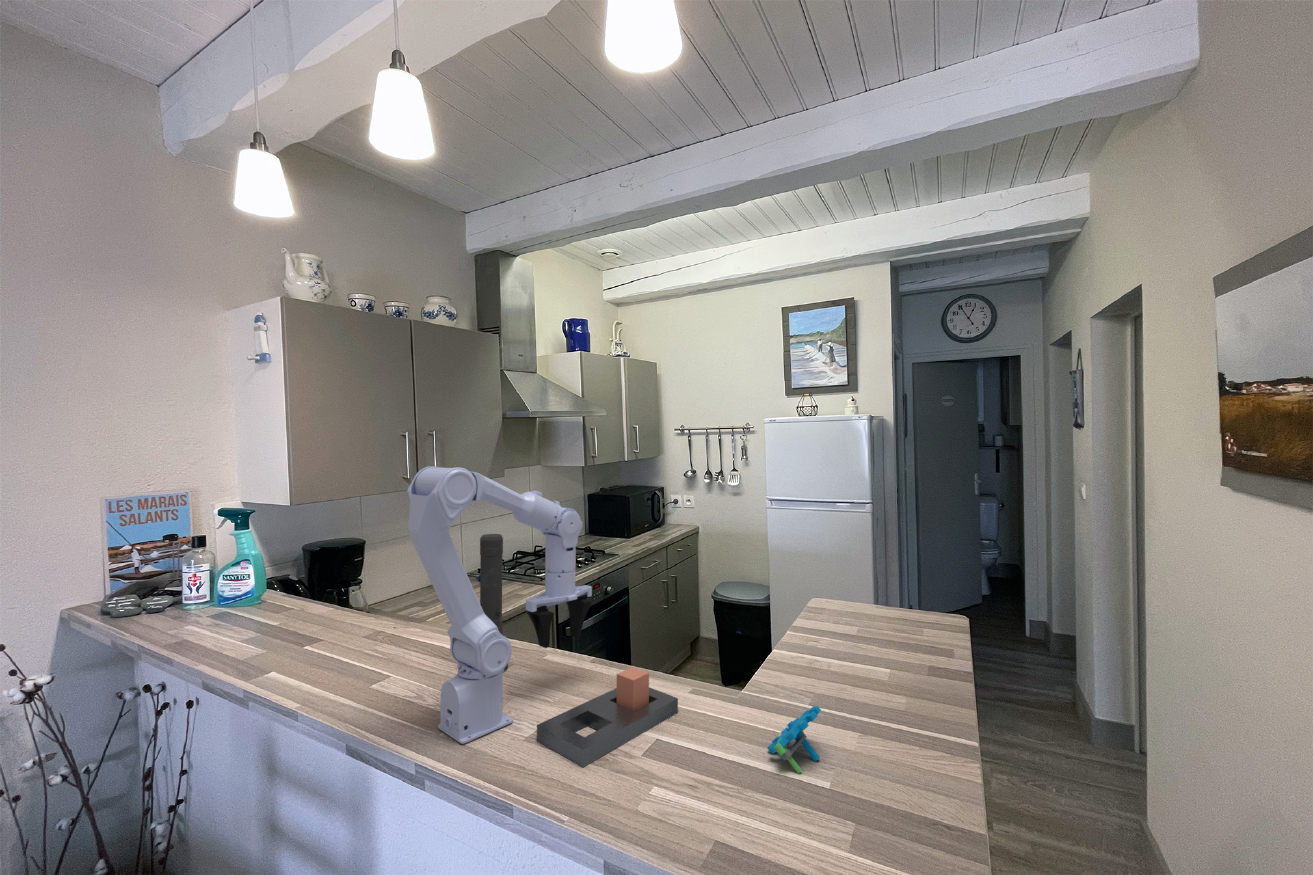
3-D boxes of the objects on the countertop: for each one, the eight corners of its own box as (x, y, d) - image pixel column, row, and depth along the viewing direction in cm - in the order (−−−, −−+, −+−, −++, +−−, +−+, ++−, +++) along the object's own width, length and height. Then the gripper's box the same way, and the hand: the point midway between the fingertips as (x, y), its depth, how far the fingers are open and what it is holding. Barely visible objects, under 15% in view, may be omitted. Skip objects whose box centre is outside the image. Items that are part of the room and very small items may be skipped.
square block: (633, 721, 93) (633, 680, 93) (616, 714, 96) (616, 673, 96) (648, 713, 96) (648, 672, 96) (632, 706, 99) (632, 666, 99)
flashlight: (475, 678, 110) (510, 672, 113) (476, 538, 111) (511, 536, 114) (470, 665, 117) (504, 660, 120) (472, 533, 117) (505, 531, 120)
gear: (785, 720, 90) (823, 692, 85) (810, 753, 88) (852, 726, 83) (750, 758, 82) (790, 729, 77) (777, 796, 79) (821, 769, 74)
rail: (583, 767, 80) (583, 749, 80) (536, 740, 87) (536, 724, 87) (677, 712, 96) (677, 698, 96) (632, 694, 103) (632, 680, 103)
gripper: (542, 579, 97) (542, 656, 97) (602, 566, 108) (602, 635, 108) (519, 573, 102) (518, 647, 102) (578, 561, 113) (578, 628, 113)
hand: (560, 640), depth 105 cm, fingers open, 7 cm apart
